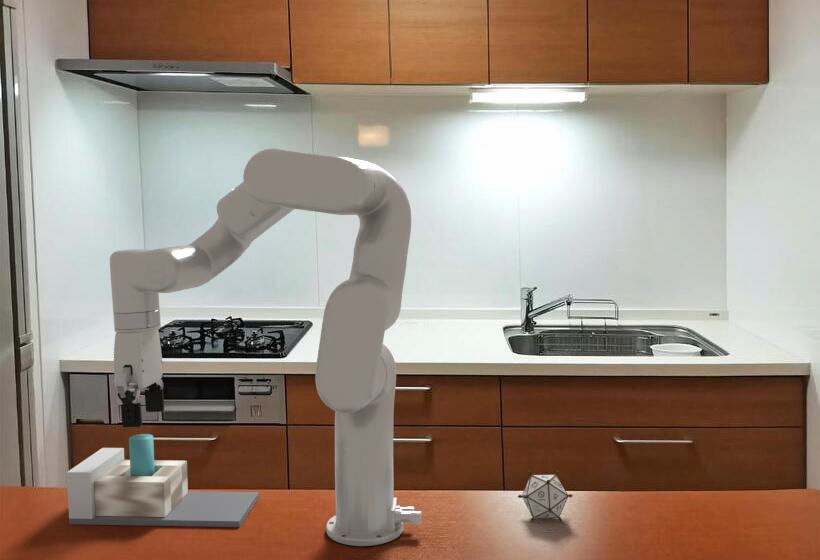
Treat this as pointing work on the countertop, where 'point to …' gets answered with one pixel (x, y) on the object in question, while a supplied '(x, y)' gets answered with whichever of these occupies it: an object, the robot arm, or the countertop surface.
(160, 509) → the block
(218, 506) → the track
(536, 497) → the game die
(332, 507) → the countertop surface
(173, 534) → the countertop surface
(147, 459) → the dowel
